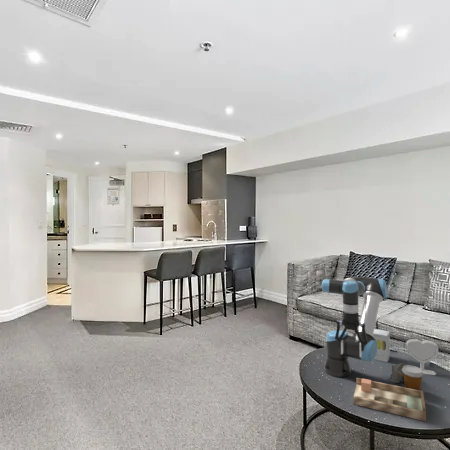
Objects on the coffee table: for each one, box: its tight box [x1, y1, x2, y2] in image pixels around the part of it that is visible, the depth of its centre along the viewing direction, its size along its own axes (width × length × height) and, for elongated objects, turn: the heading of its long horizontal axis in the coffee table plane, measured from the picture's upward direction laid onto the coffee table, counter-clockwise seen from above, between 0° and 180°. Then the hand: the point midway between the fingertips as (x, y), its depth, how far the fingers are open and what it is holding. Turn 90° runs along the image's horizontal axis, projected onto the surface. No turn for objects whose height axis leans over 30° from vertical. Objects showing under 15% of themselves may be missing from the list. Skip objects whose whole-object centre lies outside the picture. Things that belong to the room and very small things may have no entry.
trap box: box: [352, 377, 427, 422], centre depth 155 cm, size 30×16×6 cm, turn 62°
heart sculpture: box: [406, 338, 439, 376], centre depth 185 cm, size 16×5×18 cm, turn 66°
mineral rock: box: [390, 362, 406, 384], centre depth 175 cm, size 13×11×10 cm
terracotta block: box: [361, 377, 372, 393], centre depth 163 cm, size 4×4×4 cm
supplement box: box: [373, 328, 391, 363], centre depth 203 cm, size 10×9×17 cm
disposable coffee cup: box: [402, 364, 424, 391], centre depth 164 cm, size 10×10×12 cm
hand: (351, 354), depth 165 cm, fingers open, 8 cm apart
